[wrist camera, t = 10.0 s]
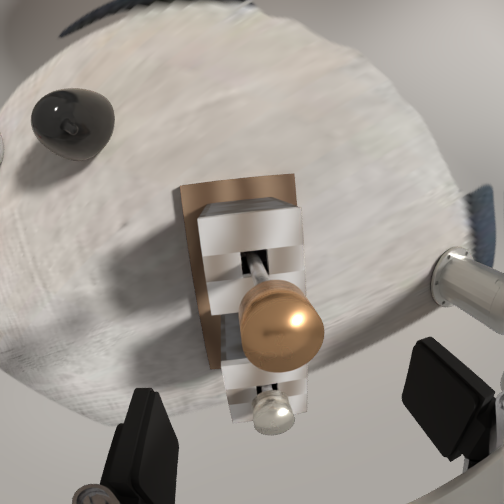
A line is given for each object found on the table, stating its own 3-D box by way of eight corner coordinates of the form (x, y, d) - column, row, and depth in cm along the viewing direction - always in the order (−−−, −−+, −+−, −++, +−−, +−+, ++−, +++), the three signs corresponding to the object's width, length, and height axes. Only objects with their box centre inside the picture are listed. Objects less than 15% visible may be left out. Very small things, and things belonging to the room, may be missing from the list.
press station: (291, 173, 42) (336, 171, 25) (301, 352, 49) (332, 420, 32) (181, 185, 41) (153, 190, 24) (210, 364, 48) (208, 439, 31)
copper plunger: (276, 211, 32) (354, 259, 13) (281, 271, 34) (347, 379, 15) (213, 218, 32) (198, 280, 12) (221, 278, 34) (221, 401, 14)
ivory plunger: (274, 305, 44) (310, 392, 24) (277, 343, 46) (308, 436, 26) (228, 310, 44) (234, 404, 24) (234, 349, 45) (243, 447, 26)
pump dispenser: (101, 174, 39) (49, 174, 24) (56, 145, 37) (-3, 137, 22) (136, 114, 37) (97, 86, 23) (88, 89, 35) (39, 59, 20)
